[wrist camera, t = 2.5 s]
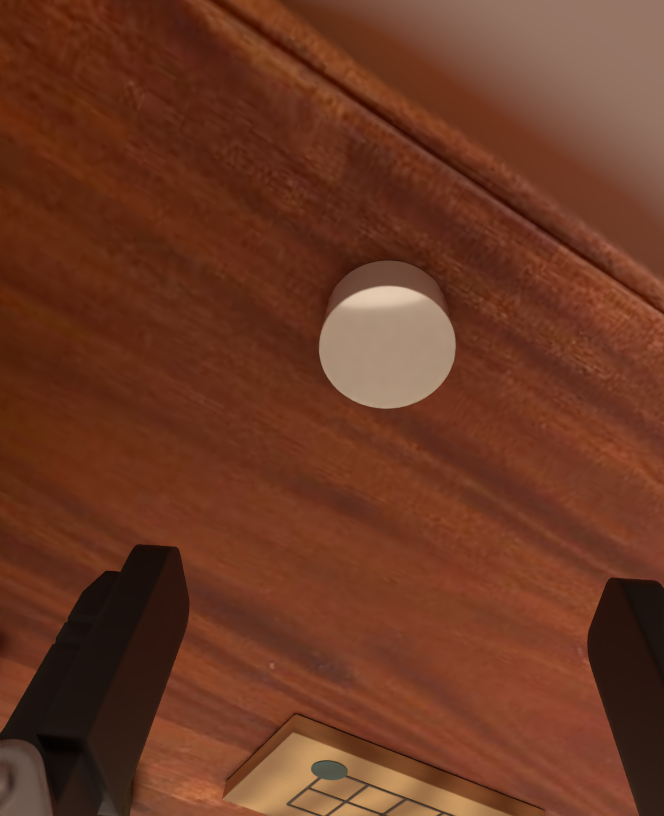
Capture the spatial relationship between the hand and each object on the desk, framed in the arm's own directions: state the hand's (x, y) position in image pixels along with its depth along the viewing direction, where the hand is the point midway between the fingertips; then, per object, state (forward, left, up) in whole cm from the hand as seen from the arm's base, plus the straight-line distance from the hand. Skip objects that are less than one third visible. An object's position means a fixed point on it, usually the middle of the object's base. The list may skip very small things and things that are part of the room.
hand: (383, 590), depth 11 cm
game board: (+19, -31, -13) cm, 39 cm away
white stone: (0, 0, -13) cm, 13 cm away
